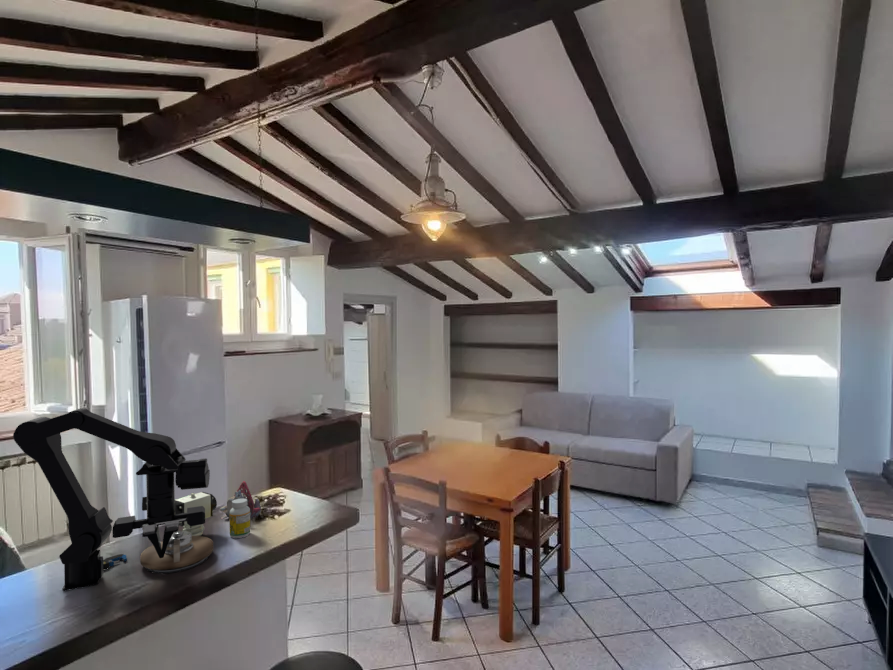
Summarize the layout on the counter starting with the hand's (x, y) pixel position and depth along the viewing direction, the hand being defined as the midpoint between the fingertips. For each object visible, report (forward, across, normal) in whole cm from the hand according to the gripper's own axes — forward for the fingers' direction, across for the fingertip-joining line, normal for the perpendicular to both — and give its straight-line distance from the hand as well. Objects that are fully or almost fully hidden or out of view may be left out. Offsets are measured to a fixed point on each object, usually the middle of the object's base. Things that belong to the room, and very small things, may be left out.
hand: (161, 557), depth 120 cm
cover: (+1, -3, -6) cm, 7 cm away
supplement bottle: (+4, -18, -16) cm, 24 cm away
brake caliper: (+4, -20, -30) cm, 36 cm away
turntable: (+2, -3, -6) cm, 7 cm away
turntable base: (+4, -3, -6) cm, 8 cm away
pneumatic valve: (+4, -6, -21) cm, 22 cm away
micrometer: (+4, +14, -10) cm, 17 cm away
